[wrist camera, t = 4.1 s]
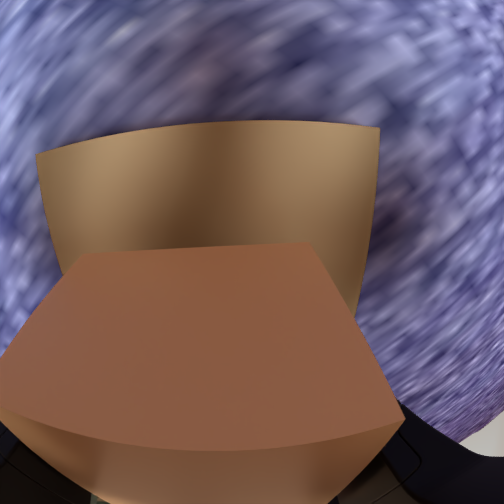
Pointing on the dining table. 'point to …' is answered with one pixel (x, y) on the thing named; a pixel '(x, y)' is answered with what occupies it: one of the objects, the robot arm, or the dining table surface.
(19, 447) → the robot arm
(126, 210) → the post stand
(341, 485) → the orange cube
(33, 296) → the dining table surface
